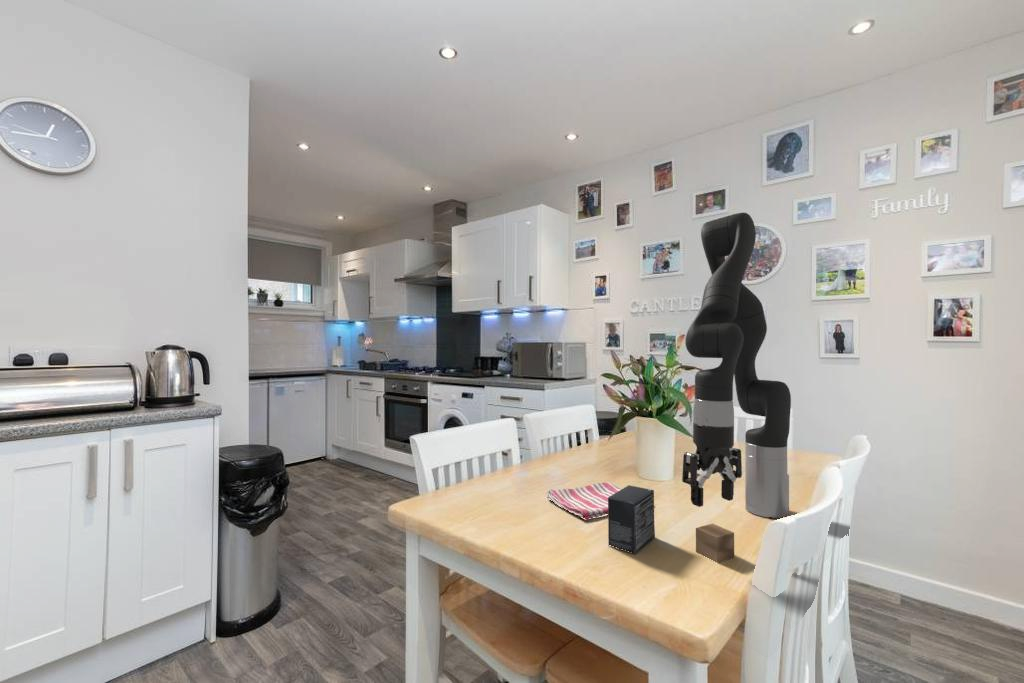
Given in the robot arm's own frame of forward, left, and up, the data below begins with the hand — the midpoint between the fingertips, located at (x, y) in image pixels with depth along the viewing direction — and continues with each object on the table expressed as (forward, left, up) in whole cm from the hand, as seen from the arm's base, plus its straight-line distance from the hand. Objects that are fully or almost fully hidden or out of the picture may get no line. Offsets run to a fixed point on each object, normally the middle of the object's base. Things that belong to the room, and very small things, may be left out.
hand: (712, 502), depth 89 cm
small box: (+11, -12, -11) cm, 19 cm away
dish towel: (+3, -34, -11) cm, 36 cm away
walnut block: (0, 0, -11) cm, 11 cm away
